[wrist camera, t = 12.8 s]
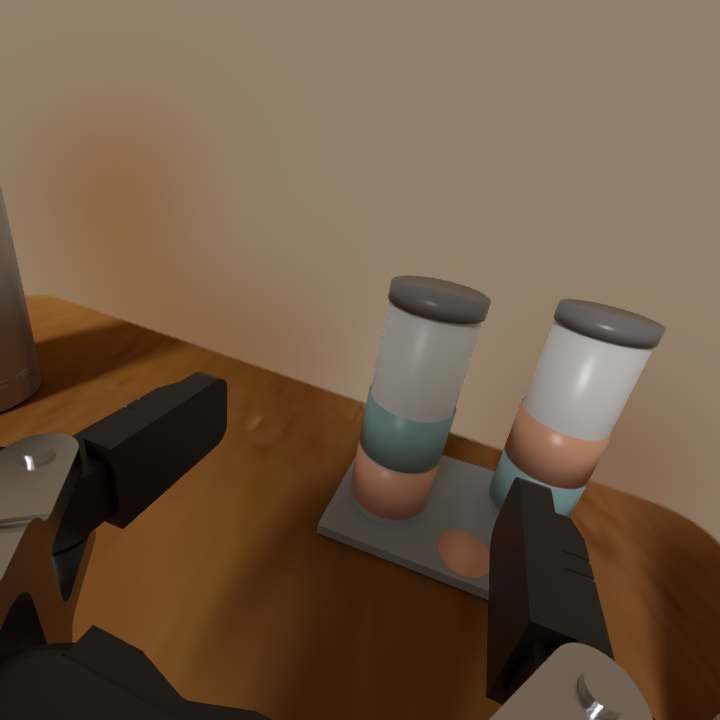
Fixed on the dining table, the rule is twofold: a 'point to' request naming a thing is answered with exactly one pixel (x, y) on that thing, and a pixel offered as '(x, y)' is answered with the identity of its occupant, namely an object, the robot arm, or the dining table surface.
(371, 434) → the slim tube
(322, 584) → the dining table surface
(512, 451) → the twin tube
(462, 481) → the slate card
